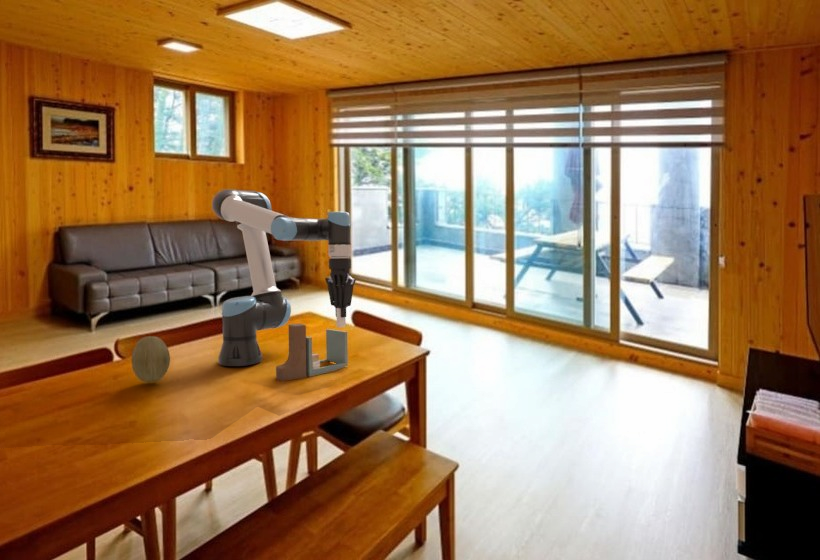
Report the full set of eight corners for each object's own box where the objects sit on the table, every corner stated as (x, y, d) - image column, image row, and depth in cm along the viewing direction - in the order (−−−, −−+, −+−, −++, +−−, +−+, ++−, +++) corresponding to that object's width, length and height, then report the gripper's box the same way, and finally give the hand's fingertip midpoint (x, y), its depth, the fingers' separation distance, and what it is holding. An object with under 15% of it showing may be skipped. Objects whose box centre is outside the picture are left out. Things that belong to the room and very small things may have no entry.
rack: (291, 372, 190) (290, 335, 189) (329, 364, 203) (328, 329, 202) (309, 376, 183) (308, 338, 183) (347, 367, 196) (347, 331, 196)
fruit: (178, 378, 182) (176, 333, 181) (152, 387, 171) (150, 339, 170) (150, 376, 186) (149, 332, 185) (123, 384, 175) (121, 337, 174)
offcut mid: (299, 366, 190) (299, 359, 190) (306, 364, 193) (306, 358, 193) (312, 369, 186) (312, 362, 186) (319, 367, 188) (319, 360, 188)
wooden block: (281, 382, 178) (280, 327, 176) (275, 379, 182) (275, 325, 180) (306, 378, 183) (306, 325, 182) (301, 375, 187) (300, 323, 185)
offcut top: (300, 359, 190) (299, 353, 190) (307, 358, 192) (306, 352, 192) (311, 362, 186) (311, 355, 186) (318, 360, 188) (318, 354, 188)
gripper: (318, 257, 188) (320, 326, 189) (344, 257, 179) (346, 329, 181) (335, 257, 193) (336, 324, 195) (361, 257, 185) (362, 327, 186)
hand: (341, 326), depth 188 cm, fingers closed
